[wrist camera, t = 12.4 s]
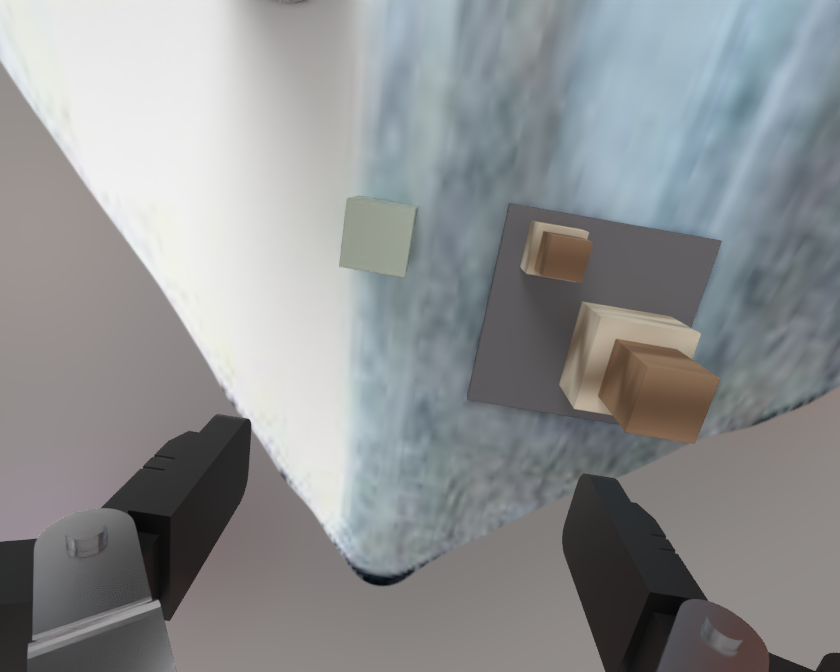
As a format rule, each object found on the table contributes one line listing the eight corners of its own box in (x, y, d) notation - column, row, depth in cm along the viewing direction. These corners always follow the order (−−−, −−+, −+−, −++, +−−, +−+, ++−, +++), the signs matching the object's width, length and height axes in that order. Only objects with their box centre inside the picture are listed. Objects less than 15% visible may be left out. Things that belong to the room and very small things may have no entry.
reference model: (531, 220, 40) (547, 226, 35) (578, 228, 40) (602, 236, 35) (520, 267, 42) (534, 281, 36) (565, 275, 42) (586, 290, 36)
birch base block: (582, 301, 42) (601, 317, 38) (671, 316, 43) (701, 333, 38) (558, 384, 45) (574, 408, 40) (643, 398, 45) (668, 424, 40)
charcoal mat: (509, 203, 41) (510, 203, 40) (717, 240, 41) (721, 240, 40) (467, 396, 46) (467, 399, 46) (651, 427, 47) (654, 430, 46)
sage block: (358, 195, 41) (347, 198, 35) (417, 206, 41) (415, 210, 35) (351, 254, 42) (339, 266, 37) (408, 264, 42) (404, 277, 37)
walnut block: (615, 338, 38) (647, 366, 32) (677, 349, 38) (720, 379, 33) (597, 395, 40) (625, 432, 34) (657, 405, 40) (694, 443, 34)
